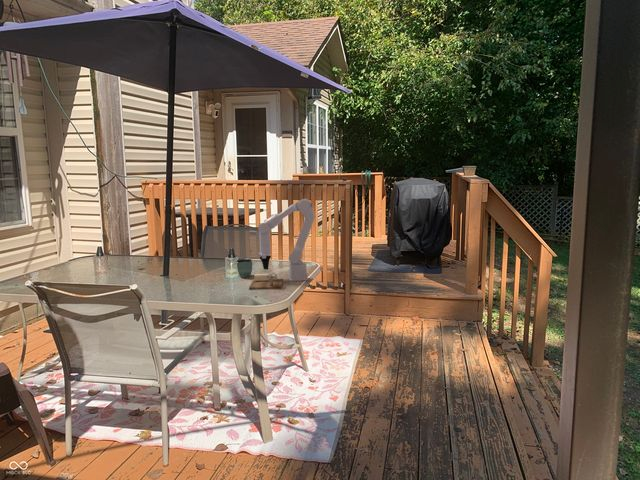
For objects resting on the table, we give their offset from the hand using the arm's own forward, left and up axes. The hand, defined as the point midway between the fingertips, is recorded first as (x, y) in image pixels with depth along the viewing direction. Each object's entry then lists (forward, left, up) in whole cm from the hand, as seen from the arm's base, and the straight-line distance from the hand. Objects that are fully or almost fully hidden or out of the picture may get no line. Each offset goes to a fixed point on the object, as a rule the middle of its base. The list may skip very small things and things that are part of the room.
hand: (265, 269), depth 272 cm
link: (-1, +6, -5) cm, 8 cm away
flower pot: (+13, -10, -6) cm, 18 cm away
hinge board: (-2, +13, -6) cm, 14 cm away
